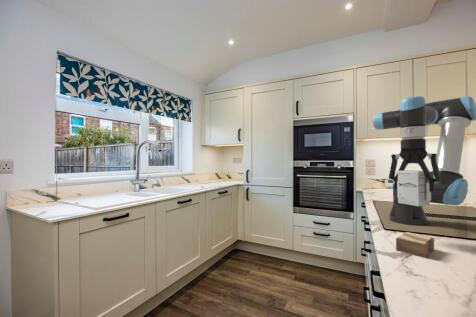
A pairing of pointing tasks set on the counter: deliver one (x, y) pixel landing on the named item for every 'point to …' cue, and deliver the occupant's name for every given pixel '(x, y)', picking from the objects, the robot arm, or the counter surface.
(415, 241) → the brown wooden block
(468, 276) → the counter surface
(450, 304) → the counter surface
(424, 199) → the supplement box
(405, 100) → the robot arm
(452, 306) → the counter surface
